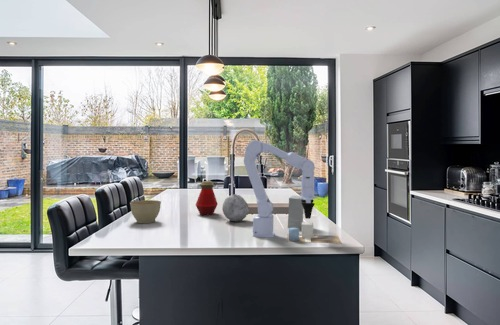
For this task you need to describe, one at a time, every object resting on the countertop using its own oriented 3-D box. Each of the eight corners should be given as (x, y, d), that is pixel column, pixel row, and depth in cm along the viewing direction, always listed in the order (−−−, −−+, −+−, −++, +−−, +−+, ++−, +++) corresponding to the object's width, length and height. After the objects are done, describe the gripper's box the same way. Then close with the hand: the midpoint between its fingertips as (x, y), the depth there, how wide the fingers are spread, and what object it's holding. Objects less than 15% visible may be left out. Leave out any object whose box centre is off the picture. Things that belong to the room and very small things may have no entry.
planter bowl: (157, 218, 206) (157, 199, 205) (163, 223, 191) (163, 203, 191) (128, 220, 199) (128, 200, 198) (132, 226, 184) (132, 205, 184)
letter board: (286, 242, 153) (286, 241, 153) (287, 234, 167) (287, 233, 167) (342, 244, 150) (342, 243, 150) (337, 236, 164) (337, 235, 164)
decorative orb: (253, 222, 194) (253, 194, 194) (228, 224, 188) (228, 196, 188) (241, 217, 208) (241, 192, 207) (218, 219, 201) (218, 193, 201)
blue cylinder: (288, 241, 153) (288, 229, 153) (288, 238, 158) (288, 227, 158) (299, 241, 153) (299, 230, 153) (299, 239, 157) (299, 227, 157)
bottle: (194, 212, 225) (194, 180, 225) (215, 211, 229) (215, 180, 228) (196, 216, 210) (196, 182, 209) (219, 215, 213) (219, 182, 213)
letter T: (297, 241, 153) (297, 241, 153) (297, 235, 163) (297, 235, 163) (318, 242, 152) (318, 242, 152) (317, 236, 162) (317, 236, 162)
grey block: (301, 237, 159) (301, 224, 159) (301, 235, 164) (301, 222, 164) (313, 238, 159) (313, 224, 159) (312, 235, 164) (312, 222, 164)
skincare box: (290, 225, 187) (291, 195, 187) (304, 226, 185) (304, 195, 184) (287, 228, 179) (287, 197, 179) (301, 229, 177) (301, 198, 176)
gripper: (318, 188, 153) (317, 220, 154) (315, 185, 167) (315, 214, 168) (301, 188, 154) (301, 219, 154) (300, 185, 168) (300, 213, 169)
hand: (307, 216), depth 161 cm, fingers open, 7 cm apart
